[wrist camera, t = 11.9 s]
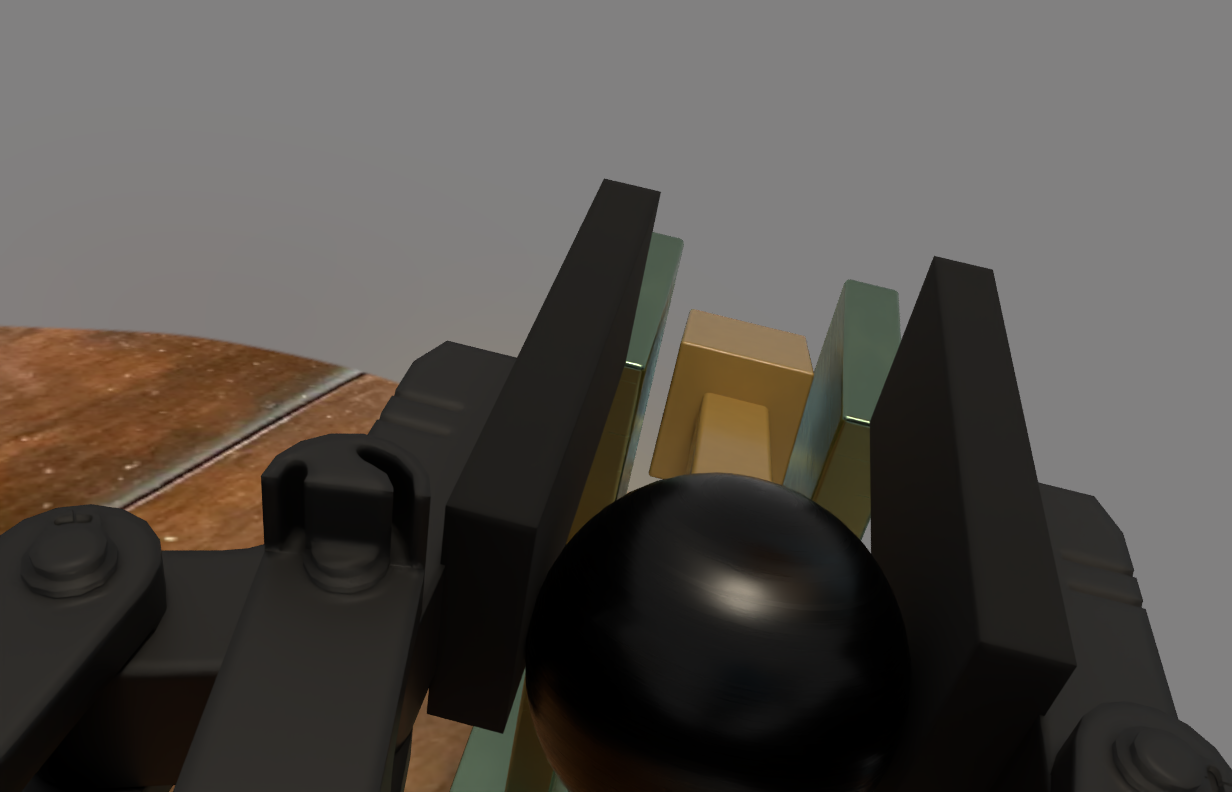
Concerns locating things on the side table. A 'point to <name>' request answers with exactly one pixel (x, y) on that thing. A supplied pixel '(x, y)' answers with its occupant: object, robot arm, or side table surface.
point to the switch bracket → (819, 469)
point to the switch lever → (720, 605)
